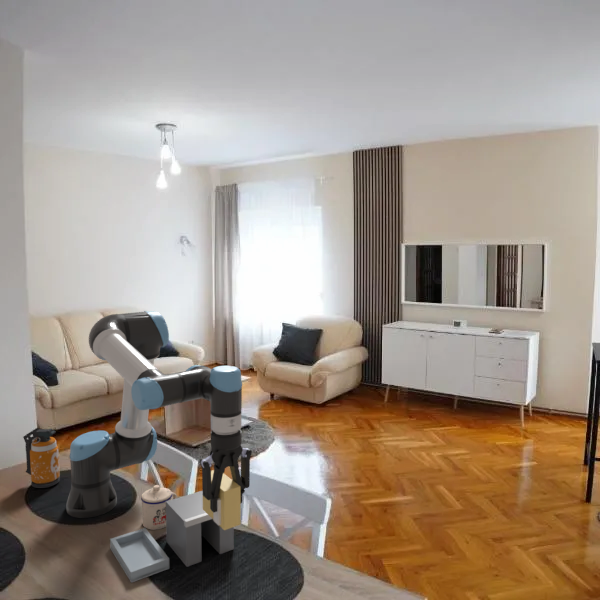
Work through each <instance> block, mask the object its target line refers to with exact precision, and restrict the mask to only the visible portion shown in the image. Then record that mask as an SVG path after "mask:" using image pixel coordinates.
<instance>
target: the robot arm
mask: <svg viewBox="0 0 600 600" xmlns="http://www.w3.org/2000/svg"><path fill="white" fill-rule="evenodd" d="M168 328H169V327H168V324H167V322H166V320H165V317H164V316H163V315H162V314H161V313H160V312H158V311H155V310H154V311H147V310H143V311H138V312H128V313H127V312H126V313H116V314H109V315H105V316H104V317H101V318H100V319H99V320H97V321H96V322H95V323H94V325H93V326H92V327H91V329H90V331H89V334H88V335H89V336H88V344H89V345H88V346H89V348H90V350H91V352H93V354H94V356H96V357H97V358H98V359H99V360H102V361H105V362H107V364H109V365H110V366H111V367H112V368H113V370H114V371H116V373H117V374H119V375H120V376H121V377H122V378H123V388H122V390H123V391H122V400H121V401H122V403H121V411H120V412H121V413H120V420H119V421H118V422H117V423H116V424H115V428H114V429H115V430H114V432H113V433H109V432H108V431H106V430H99V429H98V430H93V431H88V432H86V433H82V434H80V435H78V436H77V437H76V438H74V440H72V442H71V443H70V446H69V447H70V449H69V450H70V451H69V459H70V476H71V477H70V479H71V486H70V490H69V494H68V497H67V500H66V504H65V505H66V507H65V508H66V513H67V515H69V516H70V517H73V518H78V519H87V518H95V517H98V516H102V515H104V514H106V513H109V512H111V511H112V510H113V509H114V508H115V507H116V506H117V504H118V498H117V497H118V496H117V492H116V490H115V487H114V485H113V483H112V480H111V472H112V471H115V470H119V469H123V468H126V467H130V466H133V465H137V464H138V465H139V464H142V463H144V462H148V461H149V460H151V459H153V457H154V456H155V455H156V452H157V449H158V439H157V438H158V436H157V435H158V434H157V432H156V429H155V428H154V427H153V425H152V424H151V422H150V421H149V413H150V412H149V411H150V410H156V409H159V408H163V407H168V406H172V405H176V404H181V403H186V402H190V401H196V400H199V399H203V400H206V401H209V402H210V403H209V404H210V446H211V449H210V452H209V455H208V456H207V457H205V458H200V459H199V464H200V466H201V475H202V476H201V478H202V479H201V482H202V483H201V487H202V490H201V491H203V496H204V497H205V498H206V499H207V500H210V509H211V511H213V521H214V522H215V523H216V524H217V525H221V499H220V498H219V497H218V496H219V491H220V486H221V481H222V476H223V473H224V474H225V471H226V469H227V468H229V469H230V474H231V479H232V480H233V481H234V482H235V483H237V484H238V485H239V486H240V489H241V504H242V503H243V495H244V494H245V493H246V489H249V488H250V480H251V479H250V471H251V467H250V466H251V464H250V463H251V456H252V454H253V451H252V450H251V449H250V448H248V447H247V446H246V447H243V446H242V439H243V437H242V434H243V433H242V429H241V428H242V406H243V405H242V404H243V403H242V398H243V397H242V396H243V395H242V394H243V393H242V391H243V390H242V389H243V388H242V387H243V381H242V373H241V369H240V368H239V367H237V366H232V365H218V366H215V367H213V368H210V367H208V366H205V365H199V364H195V365H191V366H190V367H188V368H187V369H185V370H183V371H179V372H172V373H163V372H162V371H161V370H159V369H158V368H157V366H155V365H154V363H155V360H156V359H157V358H158V357H159V356H160V353H161V352H160V351H161V348H165V347H166V346H167V345H168V344H169V340H170V335H169V329H168ZM239 458H240V465H239ZM212 462H213V463H214V464H213V470H214V473H213V478H212V483H211V471H212V470H211V467H212ZM239 468H240V469H239Z"/></svg>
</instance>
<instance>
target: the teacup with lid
mask: <svg viewBox="0 0 600 600" xmlns="http://www.w3.org/2000/svg"><path fill="white" fill-rule="evenodd" d="M172 497H173V499H176V498H178V495H177V494H176V493H175V492H172V490H170V489H169V488H168V487H167V488H166V487H161V486H160V485H159V484H156V485H153V486H152V488H149V489H147V490H145V491H143V493H142V494H141V497H140V501H141V512H142V513H141V515H142V516H141V518H142V520H141V521H142V526H143V528H146V529H147V530H152V531H153V530H154V531H155V530H156V531H157V530H161V529H165V528H166V501H169V500H172Z"/></svg>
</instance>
